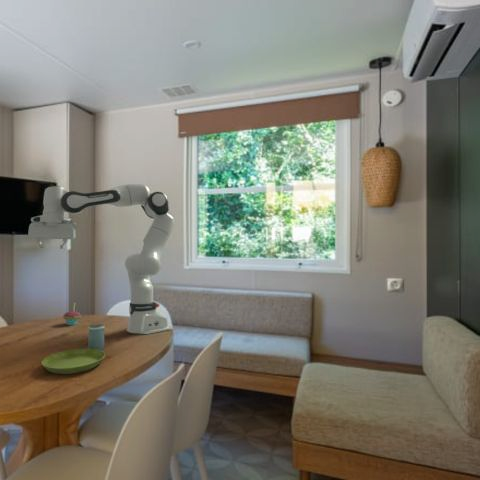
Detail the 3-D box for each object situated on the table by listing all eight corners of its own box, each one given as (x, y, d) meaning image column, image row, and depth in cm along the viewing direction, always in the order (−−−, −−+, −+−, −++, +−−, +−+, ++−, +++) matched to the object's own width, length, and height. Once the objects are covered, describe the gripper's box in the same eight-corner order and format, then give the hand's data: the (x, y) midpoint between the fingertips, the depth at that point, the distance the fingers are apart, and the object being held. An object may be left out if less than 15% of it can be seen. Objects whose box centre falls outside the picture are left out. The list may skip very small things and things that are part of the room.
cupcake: (70, 322, 181) (70, 300, 181) (84, 322, 180) (84, 301, 180) (59, 325, 172) (59, 303, 172) (74, 326, 171) (74, 303, 171)
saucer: (101, 374, 111) (101, 364, 111) (32, 380, 106) (33, 371, 106) (107, 354, 131) (107, 346, 131) (50, 358, 125) (50, 350, 125)
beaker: (103, 346, 140) (103, 323, 140) (105, 351, 134) (106, 326, 134) (87, 348, 136) (87, 325, 136) (88, 353, 131) (89, 328, 131)
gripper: (78, 221, 160) (77, 249, 160) (34, 219, 158) (32, 247, 157) (73, 220, 154) (72, 249, 154) (27, 218, 151) (25, 247, 151)
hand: (51, 248), depth 155 cm, fingers open, 8 cm apart
